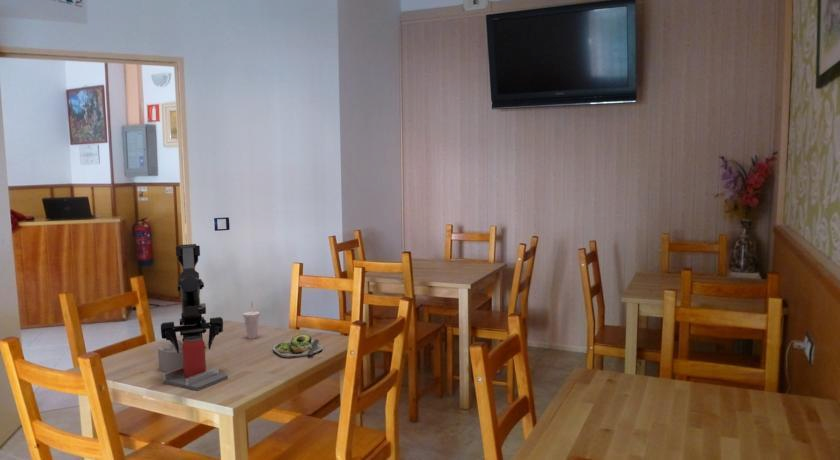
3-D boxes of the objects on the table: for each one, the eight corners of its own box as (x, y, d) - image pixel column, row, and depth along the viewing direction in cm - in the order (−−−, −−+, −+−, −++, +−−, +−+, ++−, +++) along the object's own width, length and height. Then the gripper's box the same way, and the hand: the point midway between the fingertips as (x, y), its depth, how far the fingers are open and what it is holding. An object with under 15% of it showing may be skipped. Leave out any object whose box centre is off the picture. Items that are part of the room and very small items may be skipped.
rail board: (194, 371, 202) (194, 362, 202) (227, 378, 195) (227, 369, 194) (163, 383, 191) (163, 373, 191) (197, 390, 184) (197, 380, 184)
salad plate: (333, 355, 218) (332, 342, 218) (283, 363, 210) (282, 350, 210) (315, 342, 235) (315, 330, 235) (269, 349, 227) (268, 337, 227)
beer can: (184, 373, 197) (182, 336, 196) (206, 370, 199) (204, 334, 198) (183, 379, 191) (181, 341, 190) (205, 377, 193) (203, 339, 192)
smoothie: (264, 336, 244) (262, 301, 243) (251, 340, 239) (250, 304, 237) (252, 334, 247) (251, 300, 246) (240, 338, 242) (238, 303, 241)
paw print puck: (182, 360, 214) (181, 336, 213) (205, 367, 207) (203, 342, 206) (154, 368, 206) (153, 343, 205) (176, 376, 198) (175, 349, 197)
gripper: (159, 298, 194) (160, 341, 185) (221, 292, 201) (225, 334, 192) (161, 317, 202) (162, 359, 193) (220, 311, 209) (224, 352, 200)
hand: (193, 350), depth 194 cm, fingers open, 9 cm apart
